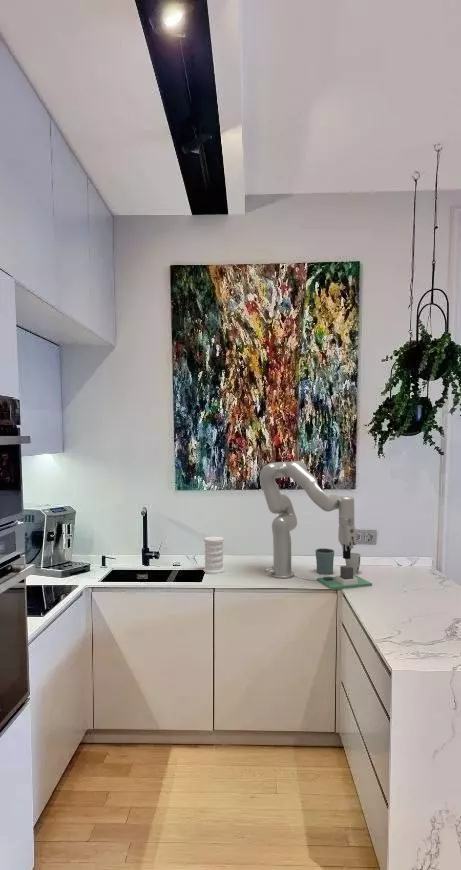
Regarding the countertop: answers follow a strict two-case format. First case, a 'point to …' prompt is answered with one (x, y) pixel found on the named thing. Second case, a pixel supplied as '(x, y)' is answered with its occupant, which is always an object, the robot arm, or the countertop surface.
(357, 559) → the cup
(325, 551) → the dark grey open cylinder
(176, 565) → the countertop surface
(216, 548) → the decorative container
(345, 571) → the plug
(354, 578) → the board
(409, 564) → the countertop surface
